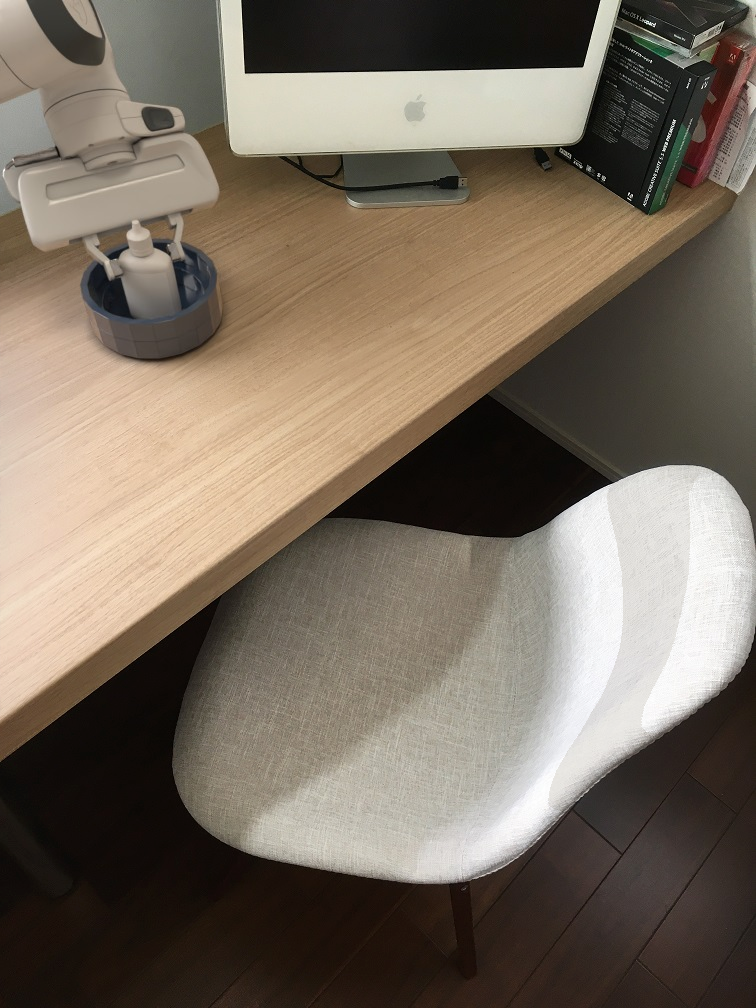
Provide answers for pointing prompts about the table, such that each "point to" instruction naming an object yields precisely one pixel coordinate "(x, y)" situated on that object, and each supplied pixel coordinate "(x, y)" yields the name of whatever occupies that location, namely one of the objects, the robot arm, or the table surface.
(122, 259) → the eye dropper bottle
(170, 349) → the bowl
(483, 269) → the table surface
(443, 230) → the table surface
